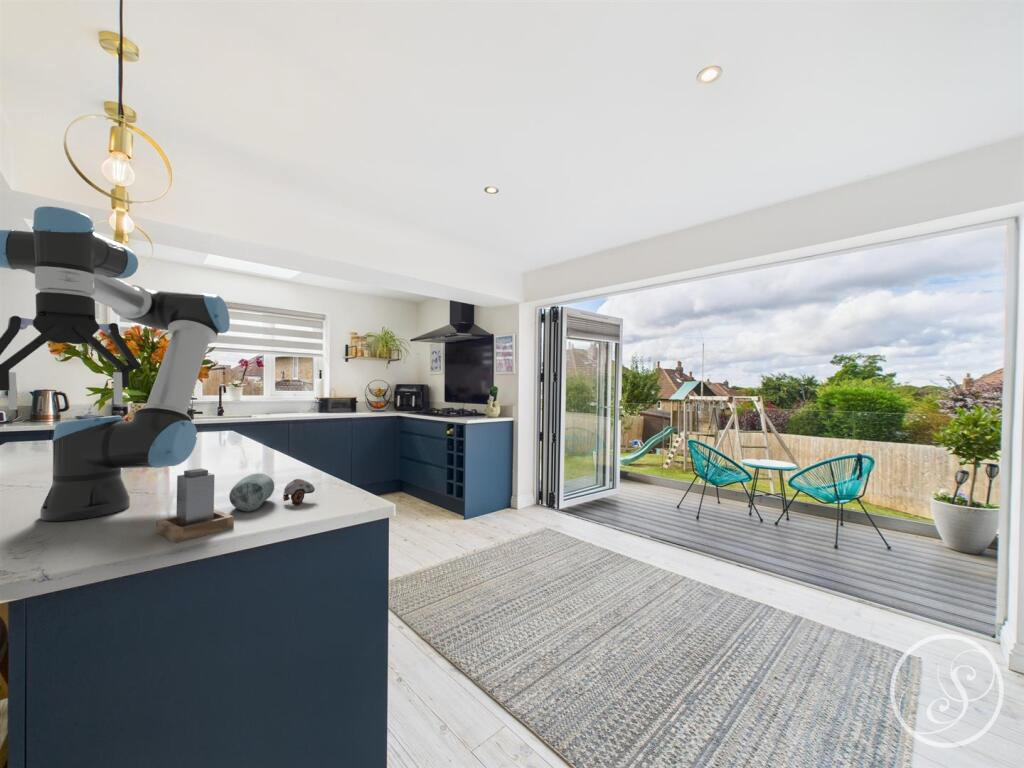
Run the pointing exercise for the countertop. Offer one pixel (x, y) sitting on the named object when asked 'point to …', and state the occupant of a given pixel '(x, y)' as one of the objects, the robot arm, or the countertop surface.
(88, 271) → the robot arm
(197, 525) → the tray
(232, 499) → the mottled river stone
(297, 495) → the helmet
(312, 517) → the countertop surface
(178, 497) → the grey upright rectangular pillar
